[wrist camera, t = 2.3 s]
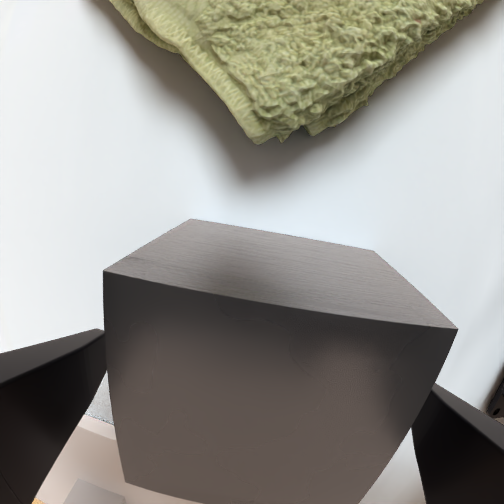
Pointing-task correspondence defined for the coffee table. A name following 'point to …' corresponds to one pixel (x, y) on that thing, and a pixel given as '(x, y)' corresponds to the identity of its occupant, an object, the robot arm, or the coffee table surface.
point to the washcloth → (293, 52)
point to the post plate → (94, 471)
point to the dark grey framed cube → (264, 365)
